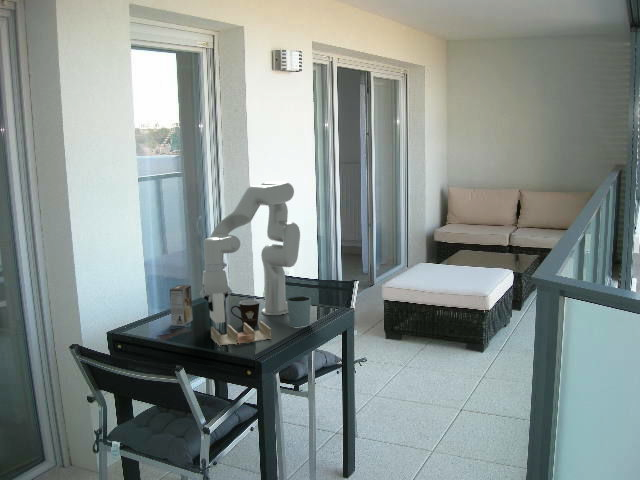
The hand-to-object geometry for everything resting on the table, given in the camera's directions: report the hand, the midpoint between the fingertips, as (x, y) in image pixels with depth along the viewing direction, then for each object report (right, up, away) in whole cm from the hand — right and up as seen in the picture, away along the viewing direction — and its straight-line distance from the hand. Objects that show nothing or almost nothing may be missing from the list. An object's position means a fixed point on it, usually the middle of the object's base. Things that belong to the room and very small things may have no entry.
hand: (216, 309), depth 290 cm
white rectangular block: (0, -4, +1) cm, 4 cm away
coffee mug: (+12, -8, +8) cm, 16 cm away
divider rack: (+12, -10, -13) cm, 20 cm away
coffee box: (-17, -7, +12) cm, 22 cm away
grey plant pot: (+35, -8, +5) cm, 36 cm away
